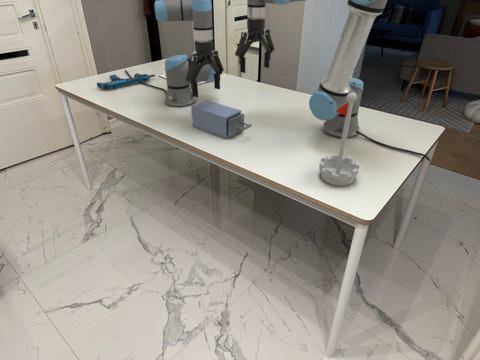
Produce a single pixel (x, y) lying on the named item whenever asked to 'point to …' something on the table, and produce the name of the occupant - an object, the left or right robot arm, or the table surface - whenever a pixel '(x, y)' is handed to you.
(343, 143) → the flag stand
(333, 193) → the table surface
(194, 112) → the cabinet
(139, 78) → the submachine gun
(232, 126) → the drawer
